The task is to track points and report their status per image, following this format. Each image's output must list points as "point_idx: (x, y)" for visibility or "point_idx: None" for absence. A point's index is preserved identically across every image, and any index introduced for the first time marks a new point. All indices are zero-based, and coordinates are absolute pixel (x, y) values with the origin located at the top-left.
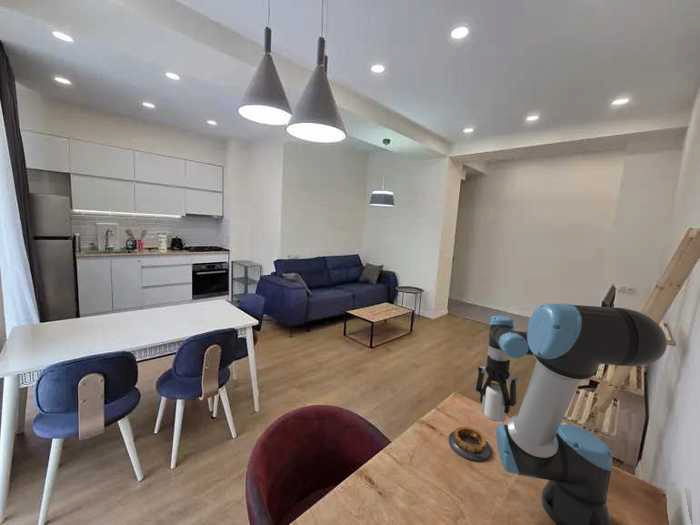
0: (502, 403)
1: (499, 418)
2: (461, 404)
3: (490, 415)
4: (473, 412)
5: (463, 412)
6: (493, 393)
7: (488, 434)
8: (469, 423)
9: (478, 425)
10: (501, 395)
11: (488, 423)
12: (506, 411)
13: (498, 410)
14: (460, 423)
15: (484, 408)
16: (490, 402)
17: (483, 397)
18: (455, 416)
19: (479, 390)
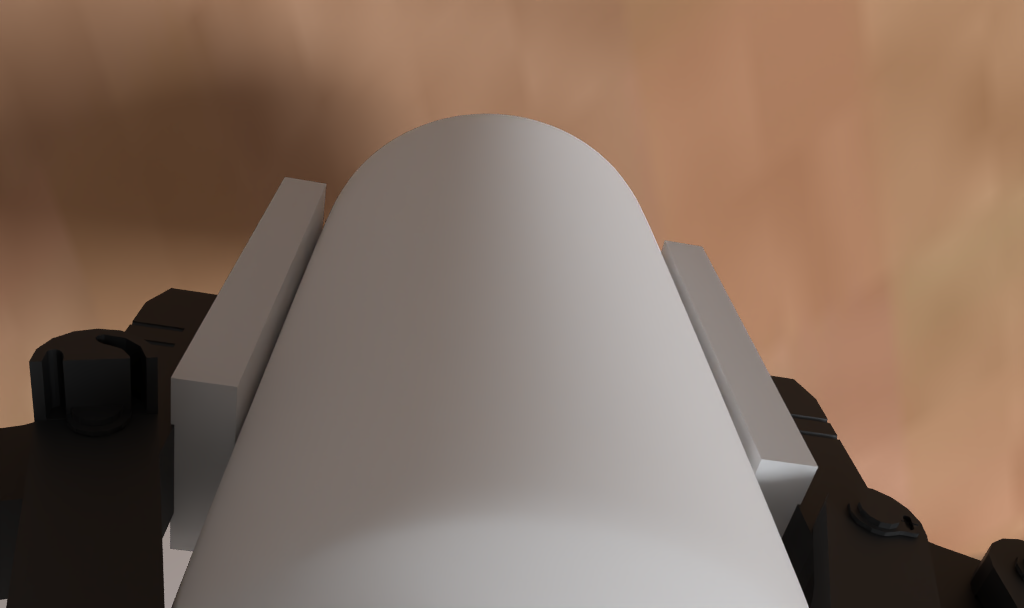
0: (245, 426)
1: (346, 191)
2: (937, 474)
3: (515, 140)
4: None
5: (898, 336)
6: (507, 527)
7: (517, 85)
8: (794, 153)
9: (674, 193)
10: (197, 605)
11: None
12: (176, 316)
13: (346, 243)
14: (918, 63)
15: None
16: (564, 284)
17: (784, 438)
18: (1001, 179)
19: (969, 592)
